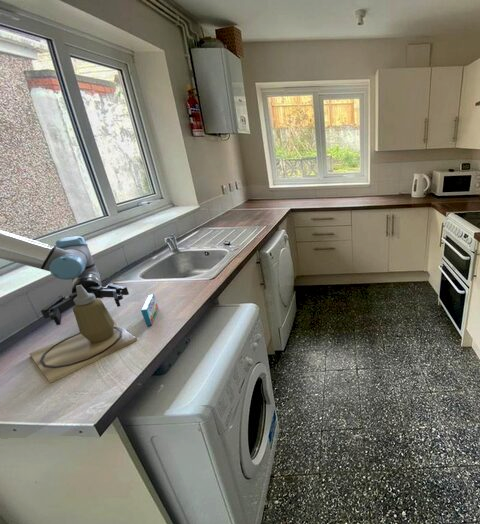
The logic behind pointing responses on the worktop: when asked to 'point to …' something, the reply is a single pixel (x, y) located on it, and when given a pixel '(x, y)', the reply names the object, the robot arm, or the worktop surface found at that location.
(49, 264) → the robot arm
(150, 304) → the printed carton box
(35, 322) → the worktop surface
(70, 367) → the cutting board
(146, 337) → the worktop surface
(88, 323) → the squeeze bottle
